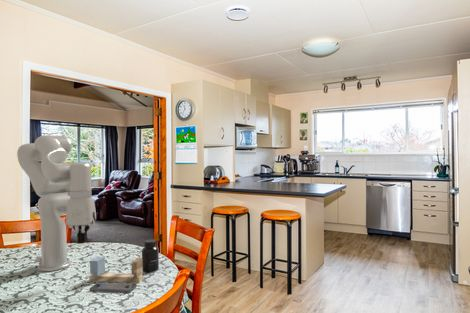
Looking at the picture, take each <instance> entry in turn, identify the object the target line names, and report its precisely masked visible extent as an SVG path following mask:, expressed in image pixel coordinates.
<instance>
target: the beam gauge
mask: <svg viewBox="0 0 470 313" xmlns="http://www.w3.org/2000/svg"><path fill="white" fill-rule="evenodd" d="M130 264H131V273H114V272H113V273H112V272H111V273H108V272H107V273H106V272H104V273H102V274H101V275H99V276H98V277H96V276H90V277H89V278H88V279H89V282H102V283H128V284H140V283H141V282H143V280H144V275H143V265H142V257H137V258H135V259H134V260H132V261H131V263H130Z"/></svg>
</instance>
